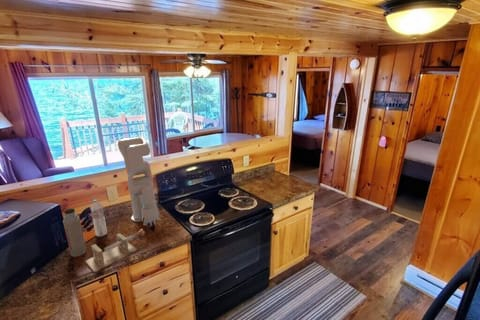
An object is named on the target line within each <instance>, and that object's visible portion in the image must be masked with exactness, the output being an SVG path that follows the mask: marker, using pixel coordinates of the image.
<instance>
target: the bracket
mask: <svg viewBox="0 0 480 320" xmlns="http://www.w3.org/2000/svg"><path fill="white" fill-rule="evenodd" d="M115 236H116V242H118V241H122V244H121V245H119V246H117V247H115V248H113V249H111V250H109V251H107V252H105V251H103V250H102V249H101V248H100V247H99V246H97V244H96V243H95V244H92V245H91V251H92V256H93V257H90V258H89V259H86V260H85V262H84V263H86V265H87V266H88V267H89V269H91V270H92V271H93V273H96V272H98V271H100V270H102V269H104V268H105V267H107V266H109V265H111V264H113V263H115V262H117V261H119V260H121V259H123V258H124V257H126V256H128V255H131V254H133V253H134V252H136V251H137V248H136V247H135V245H133V244H131V243H130V242H129V241H128V242H127V237H125V236H124V235H123V234H121V233H117V234H115Z"/></svg>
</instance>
